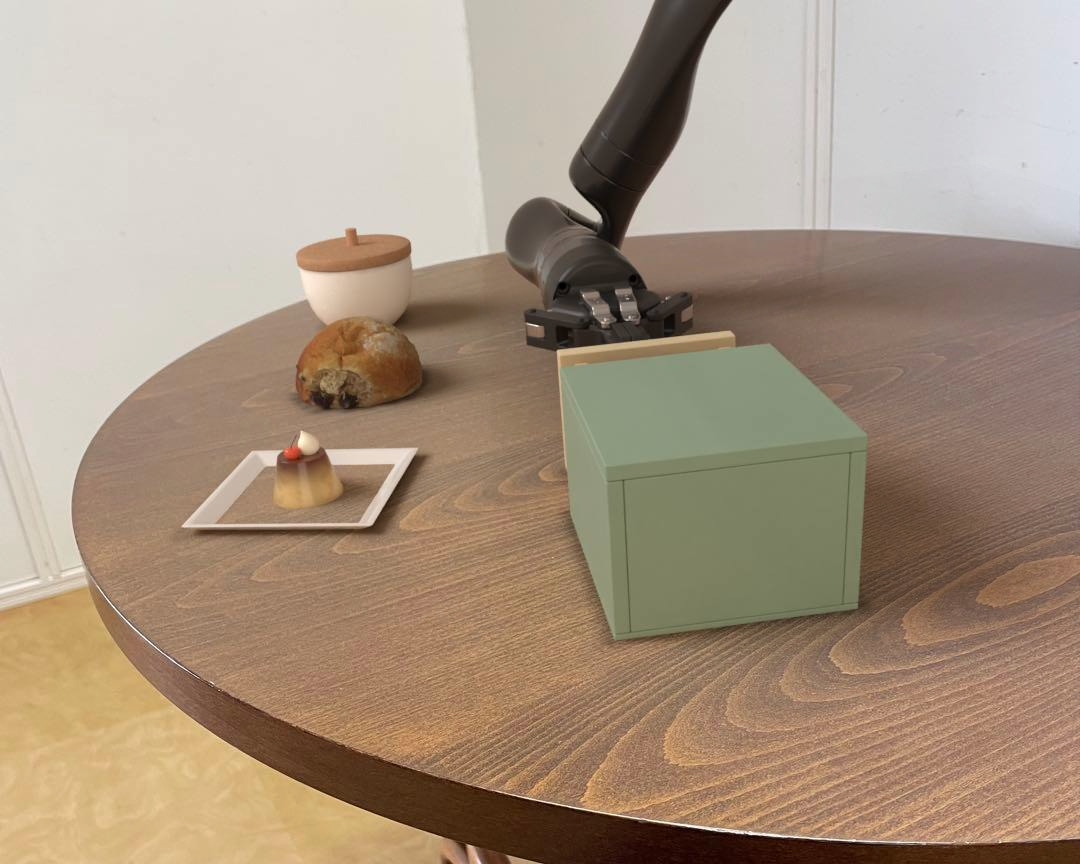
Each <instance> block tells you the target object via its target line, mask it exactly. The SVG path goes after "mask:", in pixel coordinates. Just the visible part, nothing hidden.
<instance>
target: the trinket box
mask: <svg viewBox="0 0 1080 864" xmlns="http://www.w3.org/2000/svg"><path fill="white" fill-rule="evenodd" d="M344 232H345V236H341V237H336V238H330V239H325V240H320V241H317V242H314V243H311V244H308V245H306V246H303V247H302V248H300V249H299V250H298V251H297V252H296V254H295V260H296V264H297V266H298V268H299V275H300V280H301V284H302V288H303V291H304V294H305V297H306V300H307V302H308V304H309V307H310V308H311V310H312V311H313V313H314V315H316V317H317V318H318V319H319V320H320V321H321V322H322V323H324V325H326V326H328V325H330V324H331V323H333V322H335V321H337V320H340V319H344V318H347V317H357V316H366V317H373V318H377V319H380V320H383V321H386V322H388V323H389V324H391V325H394V324H395V323H396V322H397V321H398V320H399V319H400V318H401V317H402V315H403V314H404V313H405V311H406V310H407V308H408V306H409V304H410V301H411V297H412V293H413V279H414V276H413V275H414V271H413V261H412V243H411V241H410V240H409V238H407V237H404V236H402V235H397V234H396V235H395V234H387V233H386V234H383V233H382V234H381V233H376V234H375V233H374V234H358V232H357V228H356V227H349V228H345V229H344Z"/></svg>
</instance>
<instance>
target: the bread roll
mask: <svg viewBox="0 0 1080 864" xmlns="http://www.w3.org/2000/svg"><path fill="white" fill-rule="evenodd" d="M295 368H296V374H295V390H296V392H297V394H298V396H299V398H300V400H301V401H303V402H304V404H306V405H310V406H312V407H317V408H322V409H344V410H347V409H352V408H366V407H368V408H369V407H371V406H377V405H378V406H379V405H381V404H384V403H390V402H393V401H397V400H400V399H402V398H404V397H407V396H409V395H412V394H413V393H414V392H415V391H417V390H418V389H419V388H420V387H421V385H423V369H422V368H423V367H422V363H421V360H420V355H419V353H418V350H417V349H416V346H415V344H414V343H413V342H411V340H409V338H408V336H406V334H404V333H403V332H402V331H401V330H400V329H398V328H397V327H396V326H395V325H394V324H392V325H391V324H389V323H388V322H386V321H383V320H380V319H377V318H373V317H366V316H357V317H347V318H344V319H340V320H337V321H335V322H333V323H331V324H330V325H326V326H325V327H324V328H322V329H321V330H320V331H318V332H317V333H316V334H315V335H314V337H313V338H312V339H311V340H310V341H309V342H308V343H307V345H306V346H305V347H304V349H302V351H301V354H300V356H299V357H298V360H297V364H295Z"/></svg>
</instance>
